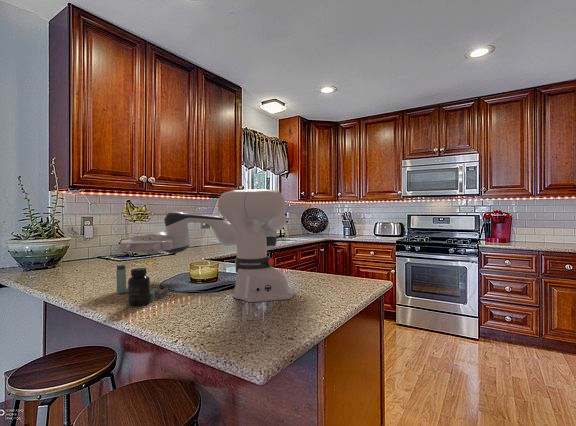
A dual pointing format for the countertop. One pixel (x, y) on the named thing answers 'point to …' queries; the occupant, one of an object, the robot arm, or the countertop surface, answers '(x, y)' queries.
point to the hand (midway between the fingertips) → (140, 248)
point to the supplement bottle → (139, 287)
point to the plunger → (122, 282)
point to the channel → (162, 293)
